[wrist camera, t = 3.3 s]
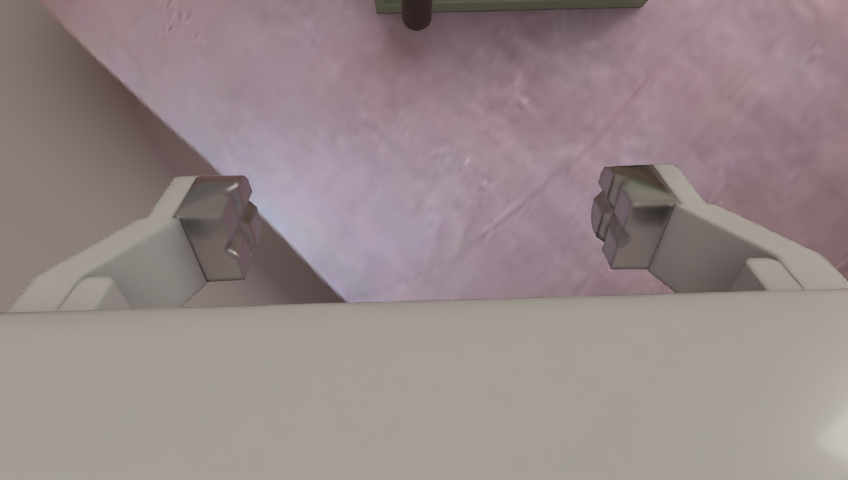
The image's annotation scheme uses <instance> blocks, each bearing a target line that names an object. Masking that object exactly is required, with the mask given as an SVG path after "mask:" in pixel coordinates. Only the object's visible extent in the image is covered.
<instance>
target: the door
mask: <svg viewBox="0 0 848 480" xmlns="http://www.w3.org/2000/svg"><path fill="white" fill-rule="evenodd" d="M401 8H402V20H403V23H404V24H405V26H406V27H408V28H409V29H411V30H414V31H420V30H423V29H425V28H426V27H427V26H428V25H429V23H430V21H431V12H432V0H401Z"/></svg>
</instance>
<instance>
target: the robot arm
mask: <svg viewBox="0 0 848 480" xmlns="http://www.w3.org/2000/svg"><path fill="white" fill-rule="evenodd" d="M598 183H599V185H600V186H601V188H602V190H603V191H602V192H600V193H599V194H598V195H597V196H596V197H595V198H594V201H593V206H592V210H591V222H592V227H593V230H594V233H595V235H596V237H597V238H599V239H600V240H602V241H603V242H604V245H603V248H602V250H603V253H604V255H605V257H606V259H607V261H608V263H609V265H610V268H611V269H649V270H648V271H649V272H650V273H652V274H653V275H654V276H655V277H657V278H658V279H659V280H660V281H662V282H663V283H664V284H665V285H667V286H668V287H669V288H670V289H672V290H673V291H674V292H675V293H667V294H632V295H598V296H564V297H529V298H495V299H460V300H425V301H390V302H356V303H324V304H287V305H252V306H220V307H219V306H216V307H182V306H183V305H184V304H185V303H187V302H188V301H189V300H190V299H191V298H192V297H193V296H194V295H195V294H196V293H197V292H199V291H200V290H201V289H202V288H203V287H204V286H205V285H206V284H207V282H212V281H231V280H245V278H246V275H247V272H248V270H249V267H250V264H251V261H252V257H251V254H250V251H251V250H252V249H254V248H255V247H256V246H257V244H258V241H259V238H260V227H261V225H260V217H259V213H258V210H257V207H256V206H255V205H254V204H252V203H251V202H250V201H249V198H250V195H251V193H252V190H251V187H250V184H249V181H248V179H247V178H246V177H245V176H179V177H175V178H173V180H172V181H171V183H170V184H169V186H168V188H167V189H166V190H165V192H164V193H163V195H162V197H161V198H160V199H159V201H158V202H157V204H156V205H155V207H154V208H153V210H152V211H151V213H150V214H149V216H148V217H147V219H138V220H137V221H135V222H133V223H131V224H129V225H127V226H126V227H124V228H122V229H120V230H118V231H117V232H115V233H113V234H111V235H109V236H108V237H106V238H104V239H102V240H100V241H98V242H96V243H95V244H93V245H91V246H89V247H87V248H86V249H84V250H82V251H80V252H78V253H76V254H75V255H73V256H71V257H69V258H67V259H66V260H64V261H62V262H60V263H58V264H56V265H55V266H53V267H51V268H49V269H47V270H45V271H44V272H42V273H40V274H38V275H36V276H35V277H33V279H32V280H31V281H30V282H29V283H28V285H27V286H26V287H25V288H24V289H23V291H22V292H21V293H20V294H19V296H18V297H17V298H16V299H15V300H14V302H13V303H12V304H11V305H10V306H9V308H8V309H7V310H6V311H5V312H4V313H0V480H848V281H847V280H846V279H845V278H844V277H843V276H842V275H841V274H840V273H839V272H838V271H837V269H836V268H835V267H834V266H833V265H832V264H831V263H830V262H829V261H828V260H827V259H826V258H825V257H824V256H823V255H821V254H819V253H817V252H815V251H813V250H811V249H809V248H807V247H804V246H802V245H800V244H798V243H796V242H794V241H792V240H790V239H787V238H785V237H783V236H781V235H779V234H777V233H775V232H773V231H770V230H768V229H766V228H764V227H762V226H760V225H758V224H756V223H754V222H751V221H749V220H747V219H745V218H743V217H741V216H739V215H737V214H734V213H732V212H730V211H728V210H726V209H724V208H722V207H720V206H718V205H715V204H706V203H705V201H704V200H703V199H702V198H701V196H700V195H699V194H698V192H697V191H696V190H695V189H694V187H693V186H692V185H691V184H690V182H689V181H688V180H687V179H686V177H685V176H684V175H683V174H682V172H681V171H680V170H679V169H678V167H677V166H676V165H674V164H671V163H666V164H650V165H634V166H614V167H604V169H603V171H602V172H601V175H600V179H599V182H598Z"/></svg>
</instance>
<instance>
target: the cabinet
mask: <svg viewBox="0 0 848 480" xmlns="http://www.w3.org/2000/svg"><path fill="white" fill-rule="evenodd" d="M647 1H648V0H432V12H448V11H489V10H531V9H572V8H613V7H643V6H644V4H645V3H646V2H647ZM375 5H376V11H377V13H402V8H401V0H375Z"/></svg>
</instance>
